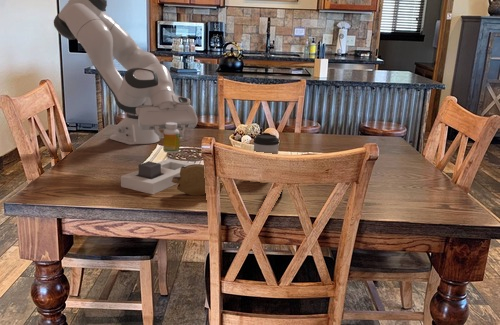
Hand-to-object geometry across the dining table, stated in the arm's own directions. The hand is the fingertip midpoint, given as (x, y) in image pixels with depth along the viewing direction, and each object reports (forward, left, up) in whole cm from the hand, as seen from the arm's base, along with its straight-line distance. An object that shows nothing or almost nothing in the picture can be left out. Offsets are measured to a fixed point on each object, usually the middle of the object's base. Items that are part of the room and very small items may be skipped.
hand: (171, 138), depth 162 cm
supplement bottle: (0, 0, -5) cm, 5 cm away
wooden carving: (+18, -10, -14) cm, 25 cm away
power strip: (0, -5, -13) cm, 15 cm away
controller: (+39, +3, -14) cm, 41 cm away
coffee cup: (+27, +18, -14) cm, 35 cm away
